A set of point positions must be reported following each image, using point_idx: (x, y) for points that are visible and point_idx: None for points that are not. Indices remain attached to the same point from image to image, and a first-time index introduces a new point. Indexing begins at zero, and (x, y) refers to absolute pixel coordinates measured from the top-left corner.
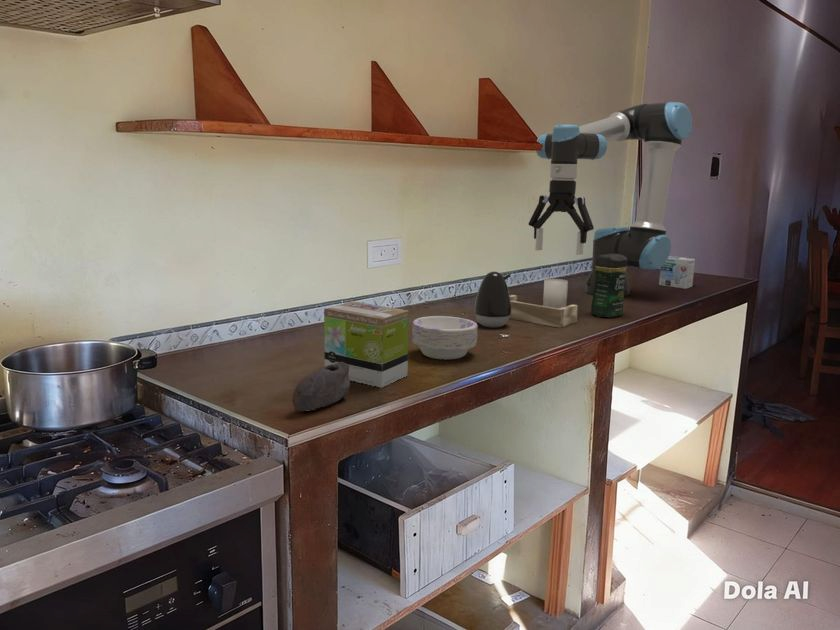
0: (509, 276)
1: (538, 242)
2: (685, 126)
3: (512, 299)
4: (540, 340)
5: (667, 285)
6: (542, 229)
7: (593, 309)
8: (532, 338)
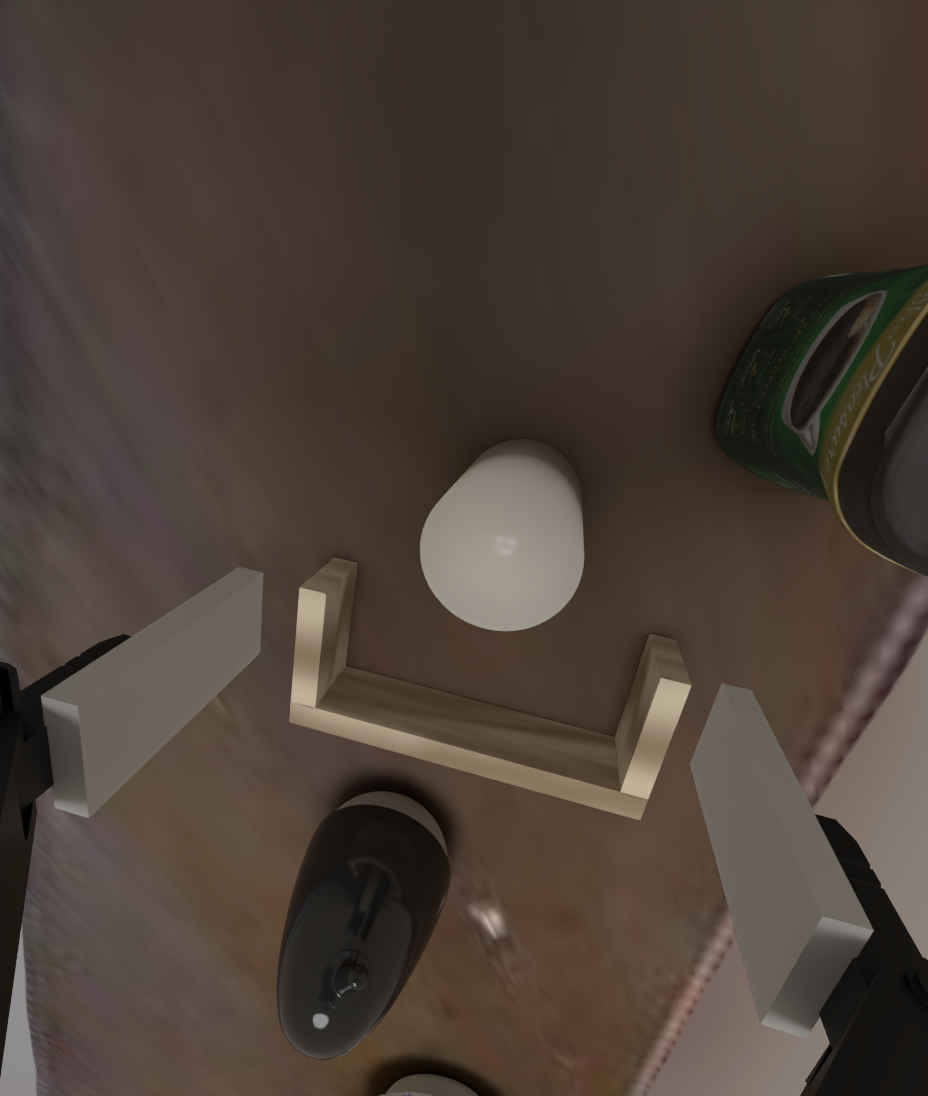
0: (368, 977)
1: (211, 689)
2: None
3: (328, 624)
4: (617, 939)
5: None
6: (93, 718)
7: (740, 465)
8: (585, 925)
